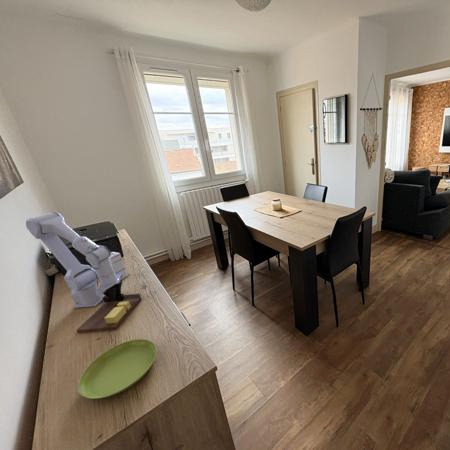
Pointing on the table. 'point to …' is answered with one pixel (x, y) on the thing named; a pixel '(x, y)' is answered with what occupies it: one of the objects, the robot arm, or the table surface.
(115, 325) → the cutting board
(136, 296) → the knife
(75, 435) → the table surface
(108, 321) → the butter block
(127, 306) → the butter slice
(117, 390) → the saucer
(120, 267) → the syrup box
